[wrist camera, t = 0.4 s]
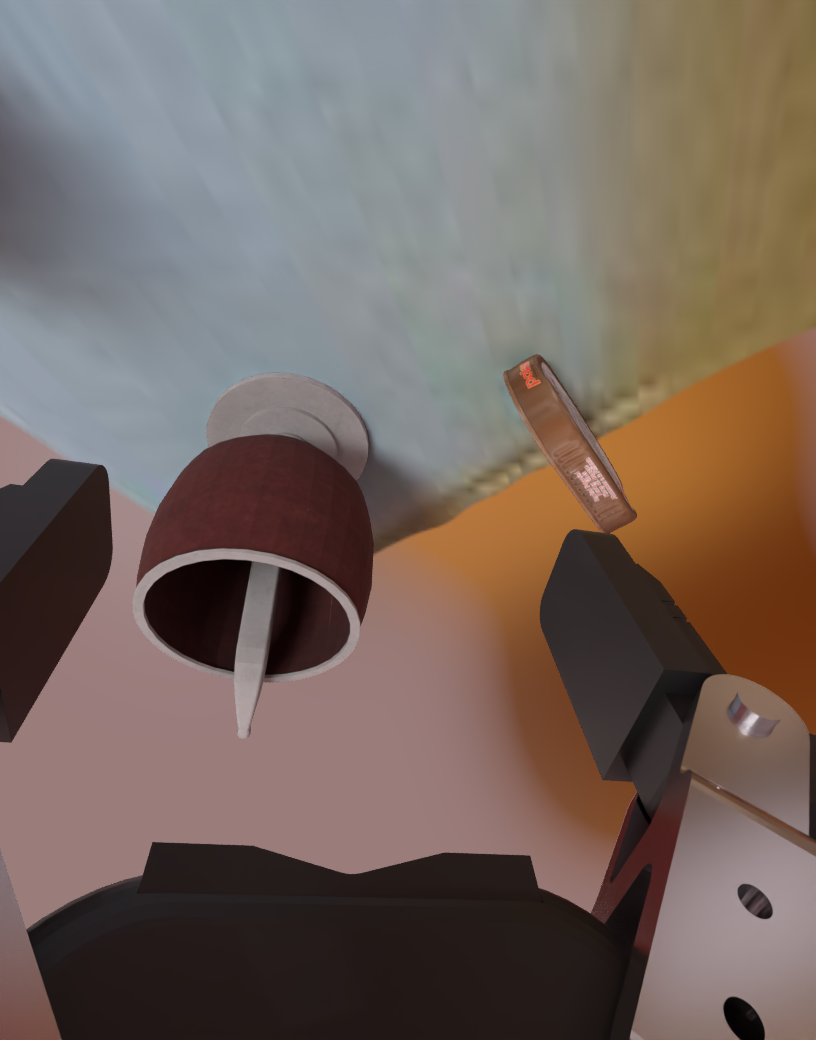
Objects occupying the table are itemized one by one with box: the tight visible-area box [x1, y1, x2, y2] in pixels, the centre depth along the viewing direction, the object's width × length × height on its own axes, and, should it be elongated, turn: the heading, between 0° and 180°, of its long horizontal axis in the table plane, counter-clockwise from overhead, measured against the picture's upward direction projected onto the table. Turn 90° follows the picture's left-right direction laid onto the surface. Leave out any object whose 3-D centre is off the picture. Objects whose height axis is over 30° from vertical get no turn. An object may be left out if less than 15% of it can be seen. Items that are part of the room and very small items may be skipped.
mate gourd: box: [132, 373, 374, 739], centre depth 40 cm, size 16×14×20 cm
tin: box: [504, 355, 637, 534], centre depth 42 cm, size 15×3×8 cm, turn 36°
